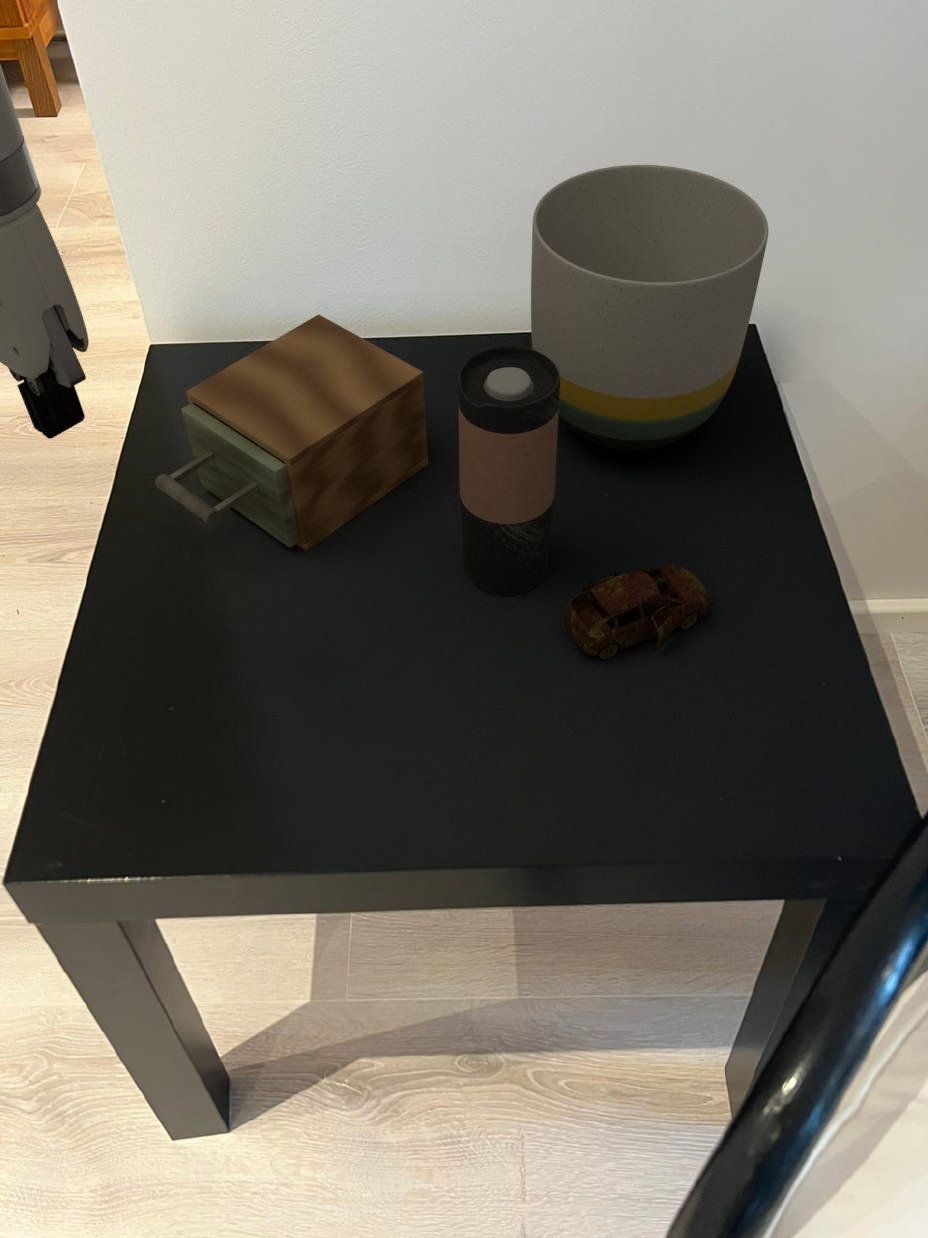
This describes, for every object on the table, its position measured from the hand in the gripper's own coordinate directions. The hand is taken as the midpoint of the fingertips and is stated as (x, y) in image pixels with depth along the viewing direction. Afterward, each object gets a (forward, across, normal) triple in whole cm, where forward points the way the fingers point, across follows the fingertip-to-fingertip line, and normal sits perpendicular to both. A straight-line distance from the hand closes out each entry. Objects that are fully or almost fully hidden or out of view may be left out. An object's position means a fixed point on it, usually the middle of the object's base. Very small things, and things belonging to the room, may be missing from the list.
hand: (60, 424), depth 78 cm
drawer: (+18, 0, +17) cm, 25 cm away
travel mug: (+19, +21, +24) cm, 38 cm away
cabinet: (+19, 0, +22) cm, 29 cm away
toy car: (+19, +34, +27) cm, 47 cm away
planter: (+19, +17, +47) cm, 54 cm away
